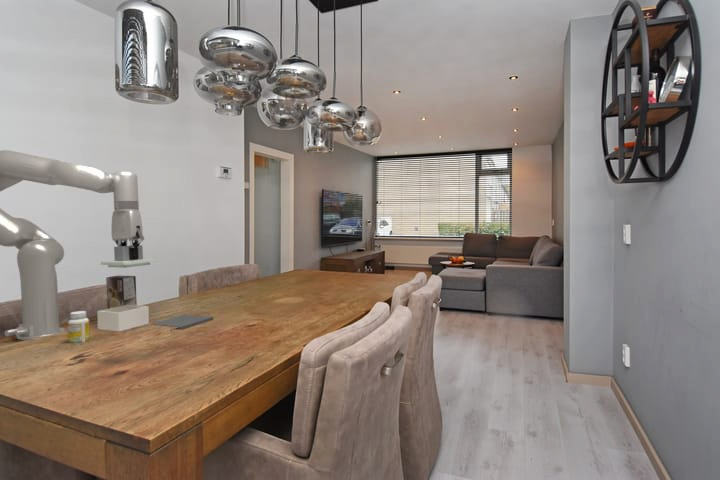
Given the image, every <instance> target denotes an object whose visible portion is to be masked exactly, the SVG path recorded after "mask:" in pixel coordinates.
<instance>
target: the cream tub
mask: <svg viewBox="0 0 720 480" xmlns="http://www.w3.org/2000/svg"><path fill="white" fill-rule="evenodd" d="M96 313H97V314H96V315H97V316H96V317H97V329H98V330H101V331H109V332H110V331H111V332H123V331H126V330H129V329H133V328H137V327H141V326H145V325H148V324H150V316H149V313H150V312H149V306H148V305H138V304H137V305H124V306H119V307H114V308H110V309H107V308H104V309H101V310H97V312H96Z"/></svg>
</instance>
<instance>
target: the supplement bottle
mask: <svg viewBox="0 0 720 480" xmlns="http://www.w3.org/2000/svg"><path fill="white" fill-rule="evenodd" d="M70 318H71V319H70V320H68V322H67V327H68V328H67V332H68V334H67V335H68V344H80V343H85V342H88V341H89V340H90V319H89V318H87V311H85V310H78V311H77V310H76V311H72V312H70Z"/></svg>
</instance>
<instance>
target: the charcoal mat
mask: <svg viewBox="0 0 720 480" xmlns="http://www.w3.org/2000/svg"><path fill="white" fill-rule="evenodd" d="M210 321H214V316H206V315H196V314H194V315H193V314H186V313H185V314H181V315H178V316H173V317H171V318H166V319H163V320H160V321H157V322H152V323H150V325H154V326H160V327H161V326H163V327H170V328H172V327H173V328H174V330H178V331H179V330H184V329H188V328H191V327H193V326H194V327H195V326H197V325H200V324H204V323H206V322H210Z"/></svg>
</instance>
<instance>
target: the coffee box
mask: <svg viewBox="0 0 720 480" xmlns="http://www.w3.org/2000/svg"><path fill="white" fill-rule="evenodd" d="M105 280H106V281H105V282H106V305H107V307H106V309H110V308H114V307H119V306H124V305H138V302H137V276H136V275H112V276H108V277H105Z"/></svg>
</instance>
